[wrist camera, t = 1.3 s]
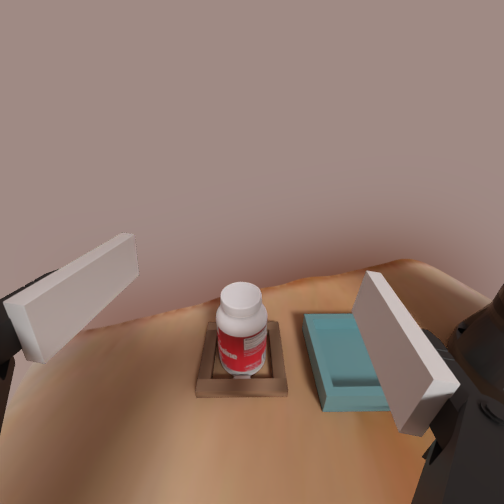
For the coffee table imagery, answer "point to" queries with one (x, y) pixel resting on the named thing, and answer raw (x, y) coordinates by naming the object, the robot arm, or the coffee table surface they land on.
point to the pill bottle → (241, 329)
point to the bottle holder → (242, 384)
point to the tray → (342, 364)
